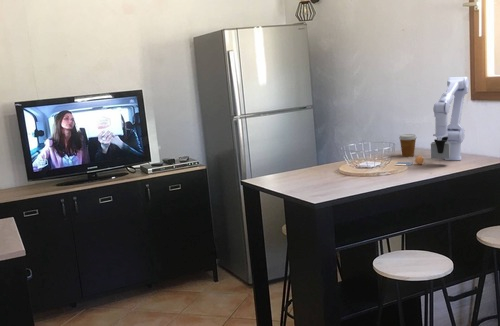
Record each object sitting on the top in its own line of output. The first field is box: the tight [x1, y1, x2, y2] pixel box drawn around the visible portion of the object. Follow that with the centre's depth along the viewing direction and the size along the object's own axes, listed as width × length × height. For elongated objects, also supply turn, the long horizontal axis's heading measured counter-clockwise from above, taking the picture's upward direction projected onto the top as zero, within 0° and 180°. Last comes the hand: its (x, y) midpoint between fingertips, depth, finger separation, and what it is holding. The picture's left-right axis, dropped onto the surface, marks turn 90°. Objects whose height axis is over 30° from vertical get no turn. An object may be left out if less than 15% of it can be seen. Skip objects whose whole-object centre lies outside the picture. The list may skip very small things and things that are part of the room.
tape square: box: [395, 161, 414, 167], centre depth 284 cm, size 8×8×1 cm
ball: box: [414, 155, 425, 165], centre depth 280 cm, size 4×4×4 cm
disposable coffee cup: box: [398, 133, 417, 158], centre depth 303 cm, size 10×10×12 cm
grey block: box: [430, 141, 451, 160], centre depth 274 cm, size 6×9×8 cm
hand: (441, 152), depth 274 cm, fingers closed on grey block, 6 cm apart
